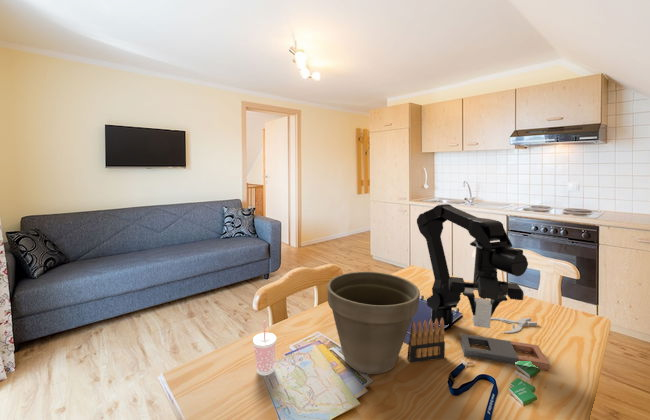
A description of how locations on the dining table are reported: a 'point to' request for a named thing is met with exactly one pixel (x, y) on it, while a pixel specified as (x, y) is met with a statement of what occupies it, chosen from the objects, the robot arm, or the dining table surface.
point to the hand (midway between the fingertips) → (481, 315)
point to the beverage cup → (264, 352)
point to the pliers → (521, 322)
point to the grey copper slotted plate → (502, 351)
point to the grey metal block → (482, 313)
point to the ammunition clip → (426, 342)
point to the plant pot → (372, 317)
